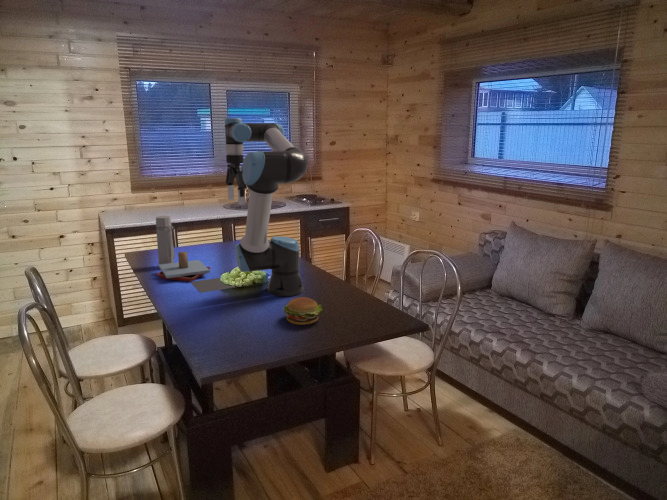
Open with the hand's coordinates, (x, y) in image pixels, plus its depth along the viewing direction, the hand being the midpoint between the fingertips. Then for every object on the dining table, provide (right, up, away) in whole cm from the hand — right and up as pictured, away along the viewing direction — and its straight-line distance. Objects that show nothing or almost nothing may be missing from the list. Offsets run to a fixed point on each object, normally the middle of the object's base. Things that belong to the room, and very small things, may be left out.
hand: (236, 201), depth 228 cm
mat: (-9, -37, -6) cm, 39 cm away
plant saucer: (-25, -35, +7) cm, 43 cm away
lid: (-26, -31, +6) cm, 41 cm away
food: (+33, -48, -42) cm, 71 cm away
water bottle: (-37, -30, +19) cm, 52 cm away
